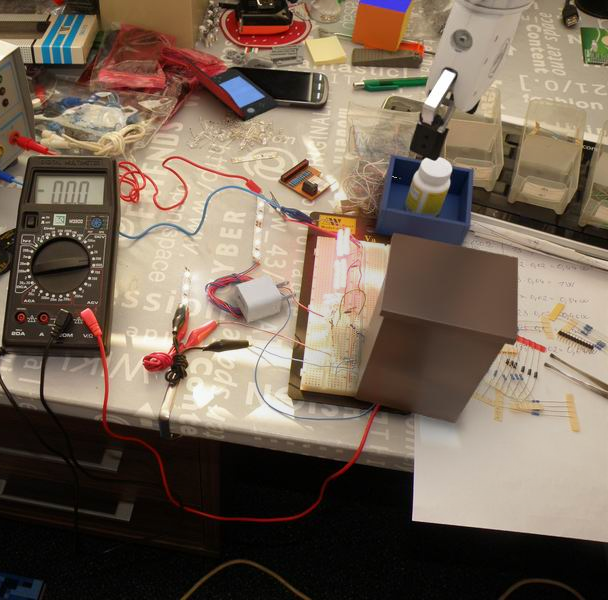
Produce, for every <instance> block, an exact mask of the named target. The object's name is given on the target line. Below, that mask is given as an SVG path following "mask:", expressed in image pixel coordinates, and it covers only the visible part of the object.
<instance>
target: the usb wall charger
mask: <svg viewBox="0 0 608 600" xmlns="http://www.w3.org/2000/svg"><path fill="white" fill-rule="evenodd" d="M289 284H290V280H284V281H281V282H278V283H275V281H274V280H273V278H272V276H271V275H270V274H266V275H263V276H260V277H256V278H253V279H250V280H247V281H243V282H240V283H237V284H235V286H234V300H235V302H236V305H237V306H238V308H239V310H240V312H241V314H242V315H243V317H244V319H245V321H246V323H247V324H249V323H252V322H255V321H257V320H261V319H264V318H267V317H270V316H273V315H276V314H279V313H281V307H282V302H283V301H287V300H290V299H293V298H295V297H297V292H292V293H288V294H285V295H282V294H281V291H280V290H279V289H280V288H283V287H285V286H287V285H288V286H289Z"/></svg>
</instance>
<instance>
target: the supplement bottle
mask: <svg viewBox="0 0 608 600" xmlns="http://www.w3.org/2000/svg"><path fill="white" fill-rule="evenodd" d="M422 160H423V161H422V162H421V165H420V167H419V170H418V171H417V172H416V173H415V174H414V177H413V180H412V183H411V186H410V189H409V193H408V196H407V199H406V202H405V206H404V211H408V212H413V213H418V214H423V215H428V216H433V217H438V216H439V213H440V211H441V208H442V205H443V203H444V200H445V197H446V195H447V192H448V189H449V187H450V175H451V172H452V166H453V165H452V164H451V162H450V161H449V160H447V159H445V158H443V157H441V156H439V158H438V159H437V160H436V161H433V160H430V159H428V158H426V157H424V159H422Z"/></svg>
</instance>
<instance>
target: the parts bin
mask: <svg viewBox="0 0 608 600" xmlns="http://www.w3.org/2000/svg"><path fill="white" fill-rule="evenodd" d="M423 160H424V159H417V158H412V157H406V156H402V155H401V156H400V155H395V154H391V155H390V158H389V162H388V165H387V168H386V172H387V173H385V176H384V179H383V184H382V191H381V196H380V202H379V207H378V213H377V218H376V224H375V229H374V234H377V235H381V236H386V237H391V238H392V236H393V233H397V234H402V235H407V236H412V237H417V238H422V239H427V240H432V241H437V242H442V243H447V244H452V245H457V246H462V247H463V243H464V241H465V239H466V237H467V235H468V233H469V230H470V228H471V221H472V204H473V190H474V188H473V187H474V186H473V185H474V172H475V169H472V168H468V167H461V166H457V165H451V166H452V172H451V175H450V187H449V189H448V192H447V195H446V197H445V200H444V203H443V205H442V208H441V211H440V213H439V216H438V217H433V216H428V215H423V214H418V213H413V212H408V211H404V206H405V202H406V199H407V196H408V193H409V189H410V186H411V183H412V180H413V177H414V174H415V173H416V172H417V171H418V170H419V167H420V165H421V162H422V161H423ZM392 176H394V177H397V178H394V177H392ZM399 178H401V179H399Z"/></svg>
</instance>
